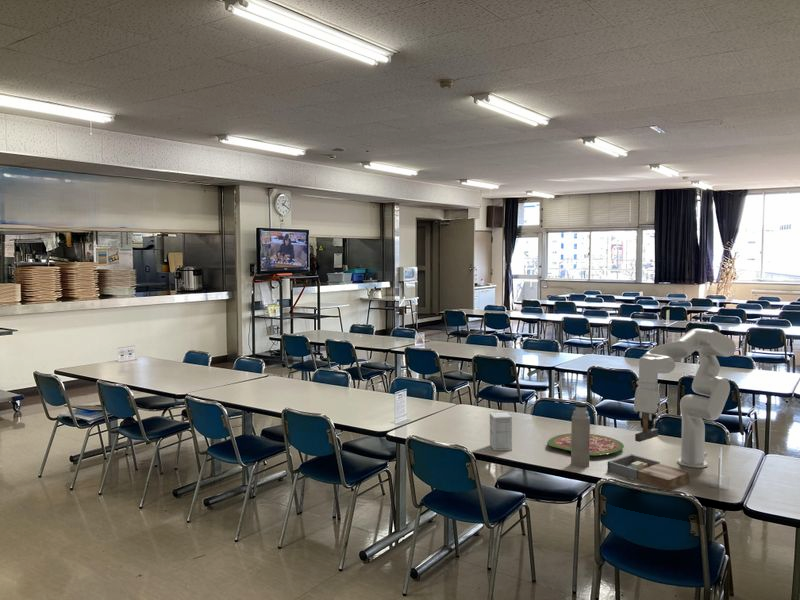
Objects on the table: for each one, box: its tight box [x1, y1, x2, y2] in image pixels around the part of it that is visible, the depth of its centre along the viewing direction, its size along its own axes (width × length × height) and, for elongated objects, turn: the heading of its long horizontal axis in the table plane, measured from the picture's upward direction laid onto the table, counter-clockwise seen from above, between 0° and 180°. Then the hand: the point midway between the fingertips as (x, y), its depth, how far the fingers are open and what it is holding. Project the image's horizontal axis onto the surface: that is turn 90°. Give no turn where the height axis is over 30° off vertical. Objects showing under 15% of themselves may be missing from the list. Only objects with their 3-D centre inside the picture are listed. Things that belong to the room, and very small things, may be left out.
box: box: [606, 453, 661, 481], centre depth 275 cm, size 18×14×4 cm
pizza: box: [546, 433, 625, 457], centre depth 312 cm, size 35×35×2 cm
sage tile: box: [631, 461, 643, 471], centre depth 269 cm, size 5×5×2 cm
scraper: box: [634, 412, 659, 443], centre depth 269 cm, size 14×2×14 cm, turn 126°
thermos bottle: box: [570, 402, 591, 469], centre depth 284 cm, size 8×8×28 cm
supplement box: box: [489, 412, 513, 451], centre depth 310 cm, size 10×9×17 cm
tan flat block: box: [636, 463, 690, 491], centre depth 264 cm, size 16×14×4 cm
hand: (647, 427), depth 269 cm, fingers closed on scraper, 2 cm apart
